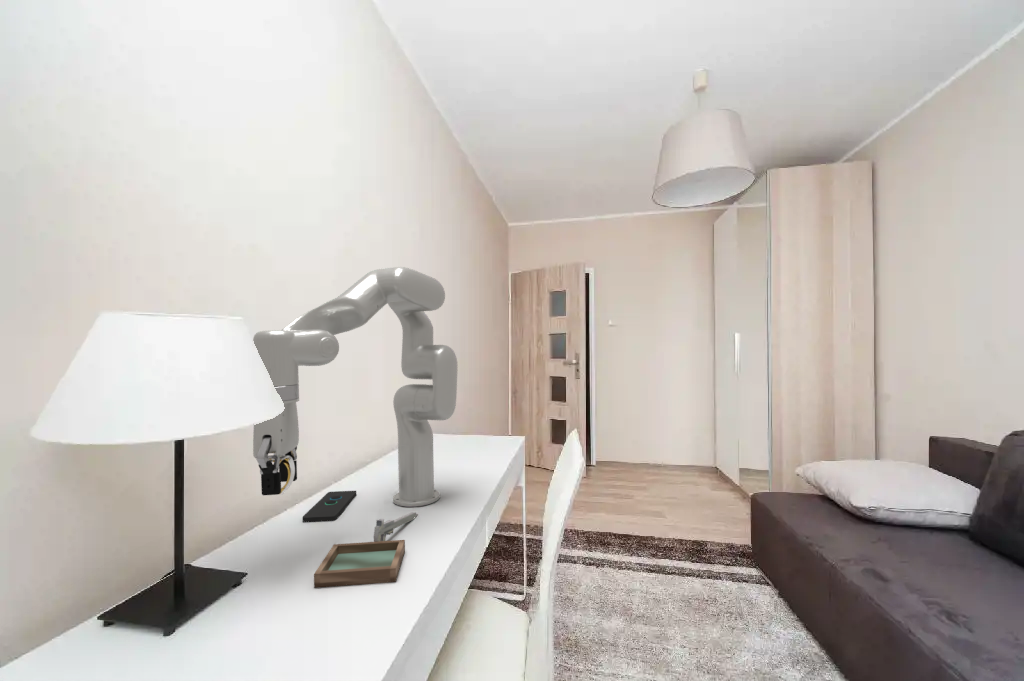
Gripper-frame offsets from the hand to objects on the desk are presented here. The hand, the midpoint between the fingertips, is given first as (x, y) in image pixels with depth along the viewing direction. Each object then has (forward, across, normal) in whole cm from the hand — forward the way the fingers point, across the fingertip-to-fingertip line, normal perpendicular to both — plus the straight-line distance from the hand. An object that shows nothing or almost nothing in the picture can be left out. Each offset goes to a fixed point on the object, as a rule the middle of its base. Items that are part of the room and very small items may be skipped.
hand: (280, 486), depth 86 cm
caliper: (+16, -14, +20) cm, 29 cm away
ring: (+2, 0, 0) cm, 2 cm away
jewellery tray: (+16, +3, +16) cm, 22 cm away
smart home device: (+17, -33, 0) cm, 37 cm away
